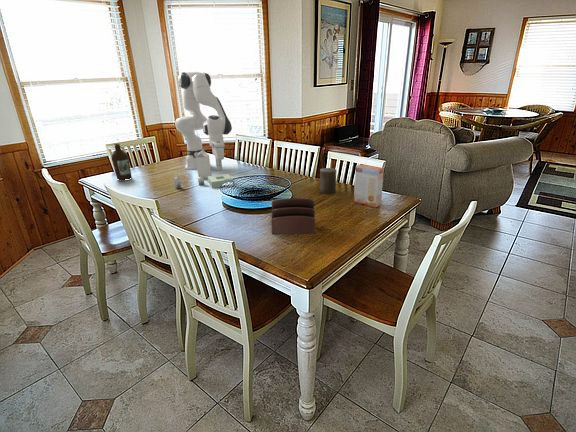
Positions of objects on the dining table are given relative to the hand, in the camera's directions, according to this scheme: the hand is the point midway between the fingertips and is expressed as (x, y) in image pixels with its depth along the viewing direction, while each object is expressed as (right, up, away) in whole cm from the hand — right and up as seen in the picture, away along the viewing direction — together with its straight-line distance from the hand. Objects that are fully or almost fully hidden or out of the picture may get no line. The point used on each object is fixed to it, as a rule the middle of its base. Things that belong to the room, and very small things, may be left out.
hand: (218, 163), depth 221 cm
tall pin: (0, -4, +2) cm, 4 cm away
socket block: (0, -12, +5) cm, 13 cm away
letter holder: (+47, -40, -62) cm, 88 cm away
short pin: (-12, -13, +4) cm, 18 cm away
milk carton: (-14, -7, +20) cm, 25 cm away
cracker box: (+88, -27, -34) cm, 98 cm away
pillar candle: (+69, -19, -14) cm, 73 cm away
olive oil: (-71, -8, +19) cm, 74 cm away
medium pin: (-26, -16, -1) cm, 30 cm away
